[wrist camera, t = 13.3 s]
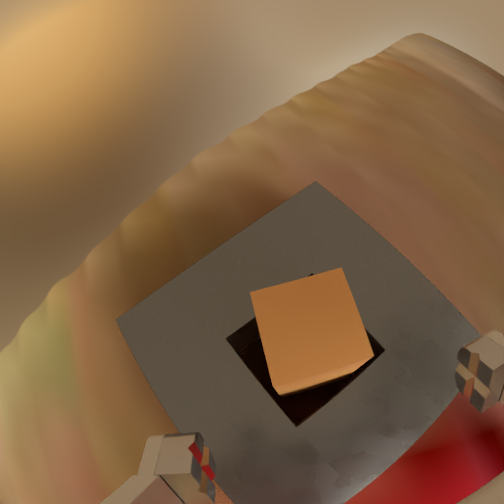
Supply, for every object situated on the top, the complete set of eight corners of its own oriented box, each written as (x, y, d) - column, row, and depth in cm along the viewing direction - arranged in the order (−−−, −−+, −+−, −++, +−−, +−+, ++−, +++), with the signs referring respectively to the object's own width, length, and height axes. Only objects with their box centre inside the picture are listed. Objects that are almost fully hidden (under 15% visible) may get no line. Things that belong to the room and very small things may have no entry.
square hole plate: (314, 215, 24) (315, 181, 20) (460, 360, 16) (490, 346, 13) (143, 337, 20) (115, 319, 17) (278, 522, 13) (274, 545, 9)
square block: (325, 323, 19) (341, 267, 12) (342, 379, 17) (373, 355, 10) (266, 339, 19) (249, 292, 12) (281, 397, 17) (272, 386, 10)
